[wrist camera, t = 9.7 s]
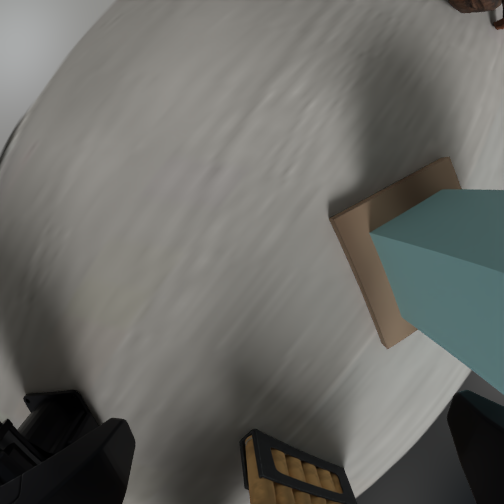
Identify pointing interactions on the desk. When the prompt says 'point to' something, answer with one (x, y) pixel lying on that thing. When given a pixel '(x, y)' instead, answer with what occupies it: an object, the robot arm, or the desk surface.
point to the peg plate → (363, 249)
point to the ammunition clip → (290, 474)
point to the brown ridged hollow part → (479, 8)
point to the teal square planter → (452, 274)
